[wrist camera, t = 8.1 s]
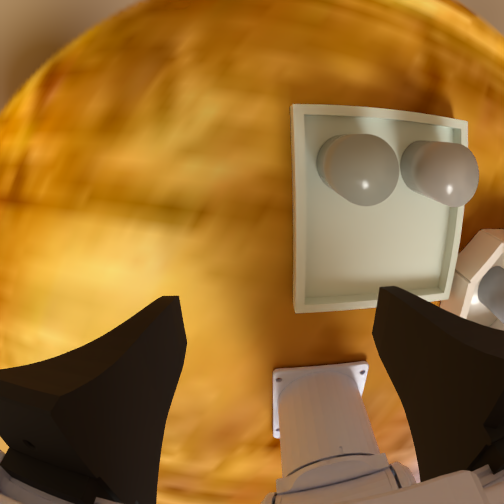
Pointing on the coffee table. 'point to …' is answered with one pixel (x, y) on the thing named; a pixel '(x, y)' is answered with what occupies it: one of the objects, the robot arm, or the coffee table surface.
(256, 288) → the coffee table surface
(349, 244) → the tray
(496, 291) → the grey rounded cylinder
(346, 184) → the pebble
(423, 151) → the pebble
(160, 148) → the coffee table surface
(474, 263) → the bowl
